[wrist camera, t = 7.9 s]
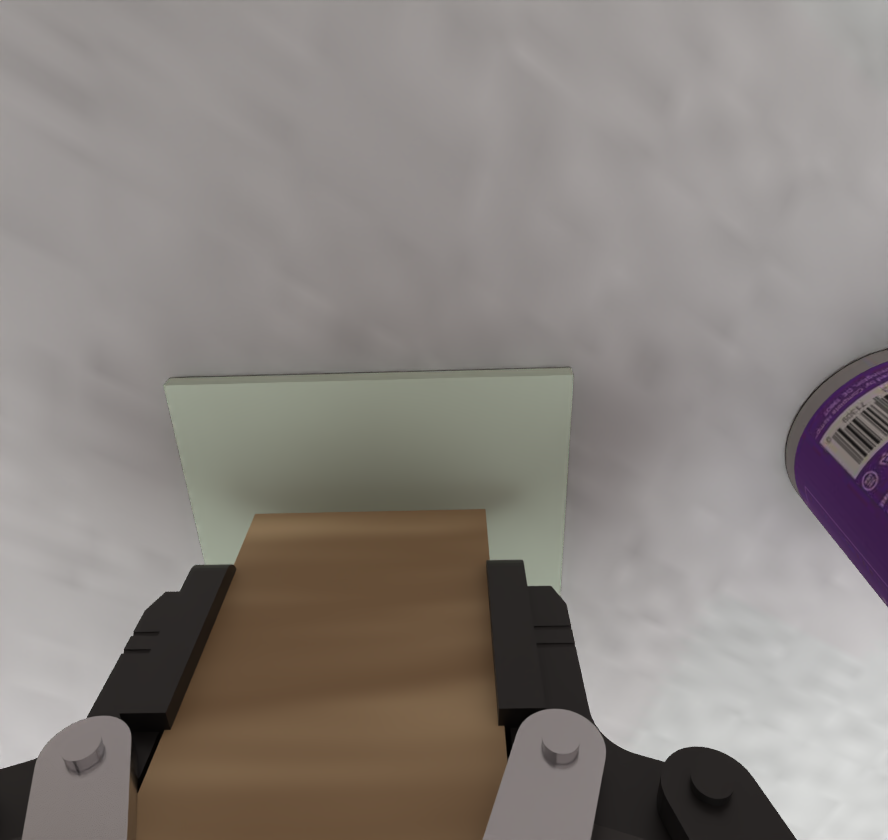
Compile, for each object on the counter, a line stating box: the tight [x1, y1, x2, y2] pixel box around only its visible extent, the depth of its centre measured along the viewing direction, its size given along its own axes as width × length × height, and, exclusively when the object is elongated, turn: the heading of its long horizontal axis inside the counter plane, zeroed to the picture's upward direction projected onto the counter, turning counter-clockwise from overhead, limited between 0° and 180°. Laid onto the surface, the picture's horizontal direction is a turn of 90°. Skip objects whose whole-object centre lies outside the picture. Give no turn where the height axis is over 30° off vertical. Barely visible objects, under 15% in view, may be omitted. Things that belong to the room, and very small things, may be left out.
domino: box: [136, 509, 507, 840], centre depth 11 cm, size 2×5×10 cm, turn 91°
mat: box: [163, 368, 574, 596], centre depth 21 cm, size 24×9×1 cm, turn 2°
